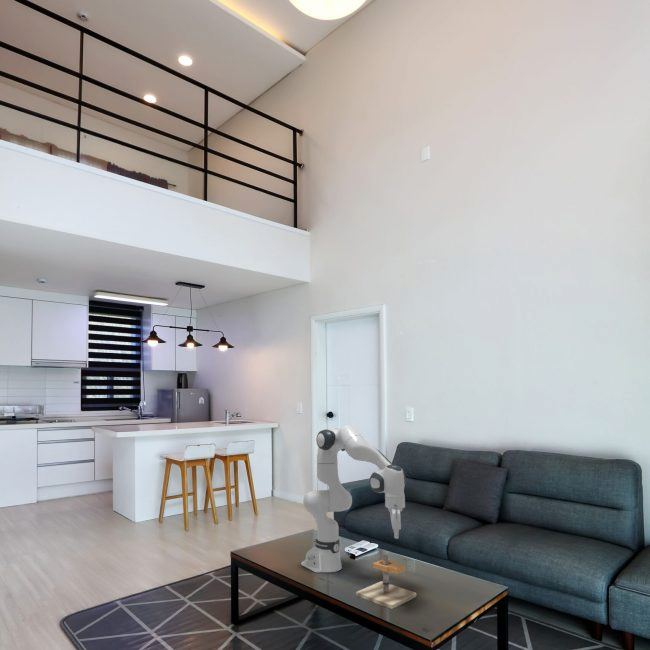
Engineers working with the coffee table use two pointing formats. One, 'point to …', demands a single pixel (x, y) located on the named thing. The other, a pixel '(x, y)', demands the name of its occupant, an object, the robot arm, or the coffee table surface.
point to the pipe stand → (386, 592)
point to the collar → (389, 567)
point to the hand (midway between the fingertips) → (395, 535)
